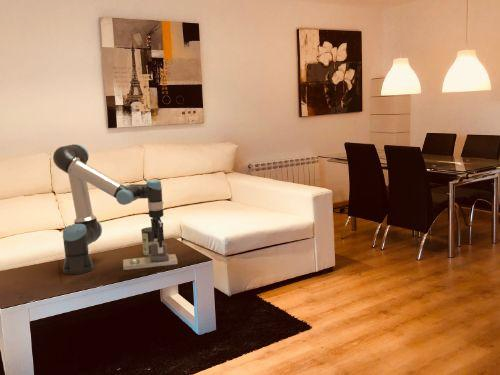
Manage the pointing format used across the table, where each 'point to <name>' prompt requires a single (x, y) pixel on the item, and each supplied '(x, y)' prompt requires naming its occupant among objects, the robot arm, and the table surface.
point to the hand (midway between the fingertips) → (158, 251)
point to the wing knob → (160, 256)
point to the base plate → (147, 262)
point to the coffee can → (147, 240)
